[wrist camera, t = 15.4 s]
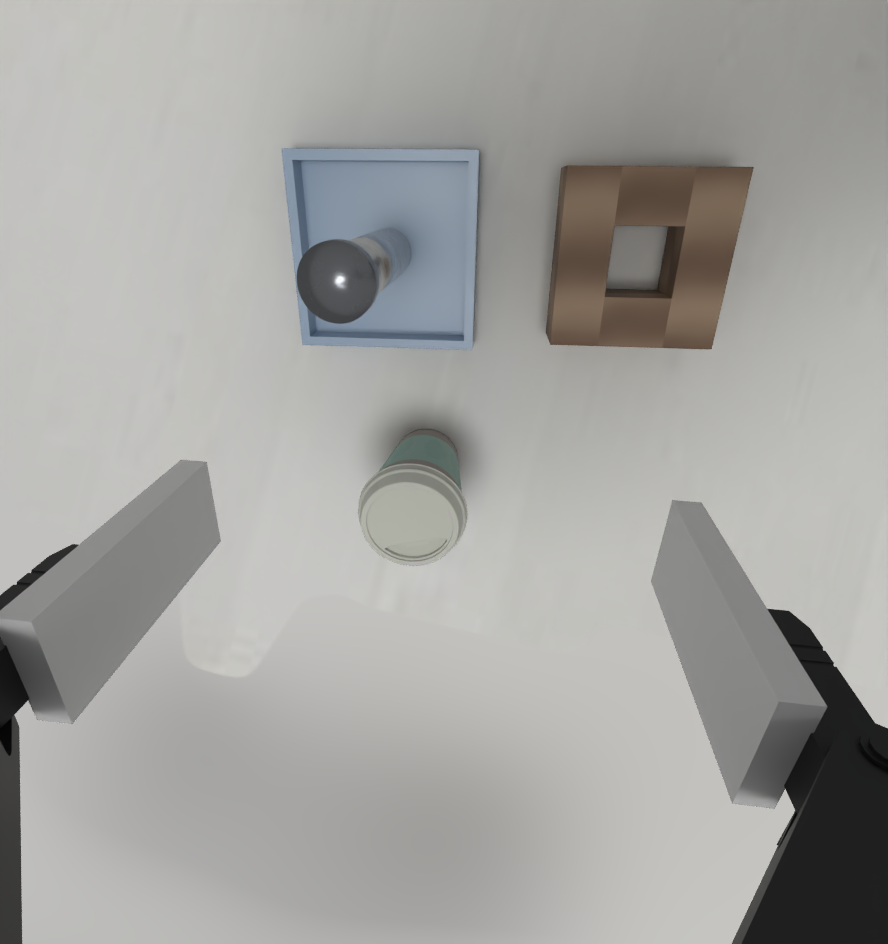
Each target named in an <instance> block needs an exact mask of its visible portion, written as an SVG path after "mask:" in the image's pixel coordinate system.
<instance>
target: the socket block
mask: <svg viewBox="0 0 888 944" xmlns="http://www.w3.org/2000/svg"><path fill="white" fill-rule="evenodd" d="M752 172H753V167H669V166H565V167H563V168H561V177H560V187H559V198H558V209H557V220H556V231H555V241H554V252H553V263H552V274H551V284H550V295H549V306H548V317H547V328H546V334H547V337H548V340H549V342H550V345H584V346H617V347H651V348H684V349H712V345H713V340H714V336H715V332H716V327H717V323H718V319H719V314H720V310H721V306H722V301H723V297H724V293H725V288H726V284H727V280H728V275H729V271H730V267H731V262H732V258H733V254H734V249H735V245H736V241H737V236H738V232H739V228H740V223H741V219H742V215H743V210H744V206H745V202H746V198H747V193H748V189H749V185H750V180H751V176H752ZM614 225H617V226H669V228H668V233H667V239H666V245H665V250H664V256H663V261H662V267H661V273H660V278H659V284H658V290H639V289H606V283H607V276H608V268H609V261H610V254H611V246H612V239H613V232H614Z"/></svg>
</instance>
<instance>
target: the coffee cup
mask: <svg viewBox="0 0 888 944" xmlns="http://www.w3.org/2000/svg"><path fill="white" fill-rule="evenodd" d="M358 514H359V521H360V524H361V528H362V532H363V534H364V537H365V539H366V541H367V542H368V543H369V545H370V546H371V547H372V548H373V549H374V550H375V551H376V552H377V553H378V554H379V555H381V556H382V557H384V558H386V559H387V560H389V561H392V562H395V563H398V564H402V565H408V566H420V565H426V564H430V563H432V562H435V561H437V560H439V559H441V558H442V557H444V556H445V555H446V554H447V553H448V552H449V551H450V550H451V549H452V548H453V547H454V546H455V545H456V544H457V542H458V541H459V540H460V538H461V536H462V534H463V532H464V529H465V527H466V523H467V515H468V513H467V505H466V501H465V499H464V496H463V494H462V491H461V482H460V473H459V465H458V457H457V451H456V449H455V446H454V445H453V443H452V442H451V441H450V439H449V438H447V437H446V436H445V435H443V434H442V433H440V432H437V431H434V430H429V429H422V430H417V431H414V432H411V433H409V434H408V435H406V436H405V437H404V438H403V439H402V440H401V442H400V443H399V445H398V446H397V447H396V449H395V450H394V451H393V453H392V454H391V456H390V457H389V458H388V460H387V461H386V463H385V464H384V465H383V467H382V468H381V470H380V471H379V472H378V473H377V474H375V475H374V476H373V477H372V478H371V479H370V480H369V481H368V482H367V483H366V485H365V487H364V488H363V490H362V493H361V495H360V500H359V509H358Z"/></svg>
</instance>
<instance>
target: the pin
mask: <svg viewBox="0 0 888 944" xmlns="http://www.w3.org/2000/svg"><path fill="white" fill-rule="evenodd" d="M410 261H411V247H410V244H409V242H408V240H407V238H406V237H405V236H404V235H403V234H402V233H401V232H399V231H397V230H395V229H391V228H385V229H381V230H378V231H374V232H371V233H368V234H365V235H362V236H359V237H356V238H353V239H350V240H345V239H331V240H327V241H323V242H320V243H318V244H316V245H314V246H312V247H311V248H310V249H308V250H307V251H306V253H305V254H304V255H303V257H302V258H301V260H300V262H299V265H298V269H297V287H298V291H299V294H300V296H301V299H302V300H303V302H304V304H305V305H306V307H307V308H308V309H309V310H310V311H311V312H312V313H313V314H314V315H316V316H317V317H319V318H320V319H322V320H324V321H327V322H330V323H336V324H344V323H349V322H352V321H354V320H356V319H358V318H360V317H361V316H362V315H363V314H364V313H365V312H367V311H368V310H369V309H370V307H371V306H372V305H373V303H374V302H375V300H376V297H377V295H378V294H379V293H380V292H381V291H382V290H383V289H385V288H386V287H387V286H388V285H389V284H390V283H392V282H393V281H394V280H395V279H396V278H397V277H398V276H400V275H401V274H402V273H403V272H404V271H405V270H406V269H407V268H408V266H409V264H410Z"/></svg>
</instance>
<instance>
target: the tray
mask: <svg viewBox="0 0 888 944" xmlns="http://www.w3.org/2000/svg"><path fill="white" fill-rule="evenodd" d="M282 157H283V167H284V176H285V185H286V195H287V204H288V213H289V223H290V232H291V241H292V251H293V260H294V269H295V279H296V288H297V297H298V307H299V316H300V325H301V335H302V344H303V345H326V346H358V347H391V348H423V349H456V350H472V349H473V341H474V311H475V281H476V252H477V222H478V193H479V163H480V151H479V149H295V148H282ZM385 228H391V229H395V230H397V231H399V232H401V233H402V234H403V235H404V236H405V237H406V238H407V240H408V242H409V244H410V247H411V261H410V264H409V266H408V268H407V269H406V270H405V271H404V272H403V273H402V274H401V275H400V276H398V277H397V278H396V279H395V280H394V281H393V282H392V283H390V284H389V285H388V286H387V287H386V288H385V289H383V290H382V291H381V292H380V293H379V294H378V295H377V297H376V300H375V302H374V303H373V305H372V306H371V307H370V309H369V310H368V311H367V312H365V313H364V314H363V315H362V316H361V317H360V318H358V319H356V320H354V321H352V322H349V323H344V324H336V323H330V322H327V321H324V320H322V319H320V318H319V317H317V316H316V315H314V314H313V313H312V312H311V311H310V310H309V309H308V308H307V307H306V305H305V304H304V302H303V300H302V299H301V296H300V294H299V291H298V287H297V269H298V265H299V262H300V260H301V258H302V257H303V255H304V254H305V253H306V251H307V250H308V249H310V248H311V247H312V246H314V245H316V244H318V243H320V242H323V241H327V240H331V239H345V240H350V239H353V238H356V237H359V236H362V235H365V234H368V233H371V232H374V231H378V230H381V229H385Z"/></svg>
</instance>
